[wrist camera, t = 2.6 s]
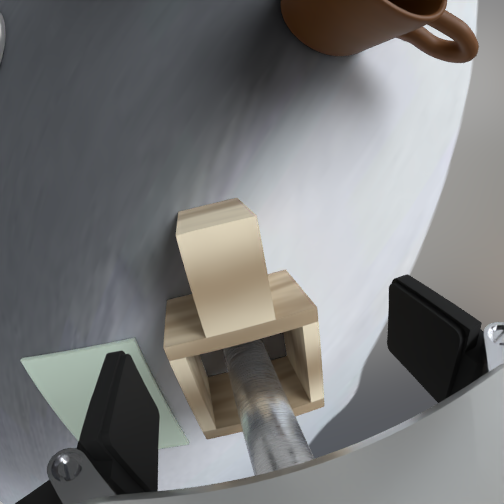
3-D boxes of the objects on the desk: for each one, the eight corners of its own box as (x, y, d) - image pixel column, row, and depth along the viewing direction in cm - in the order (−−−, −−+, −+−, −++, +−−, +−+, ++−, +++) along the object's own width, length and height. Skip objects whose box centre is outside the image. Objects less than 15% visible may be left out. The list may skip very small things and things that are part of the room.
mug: (416, 40, 19) (496, 19, 10) (395, 106, 21) (486, 100, 12) (297, -36, 16) (351, -100, 7) (260, 28, 17) (311, -39, 8)
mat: (21, 358, 21) (20, 360, 20) (134, 337, 22) (134, 340, 22) (90, 452, 26) (90, 454, 25) (188, 441, 27) (188, 444, 27)
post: (216, 324, 23) (279, 561, 7) (254, 314, 24) (357, 535, 7) (225, 353, 24) (286, 569, 8) (260, 344, 25) (351, 548, 8)
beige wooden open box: (142, 221, 20) (127, 248, 14) (272, 190, 21) (304, 205, 15) (199, 387, 25) (206, 439, 19) (298, 360, 26) (324, 406, 21)
